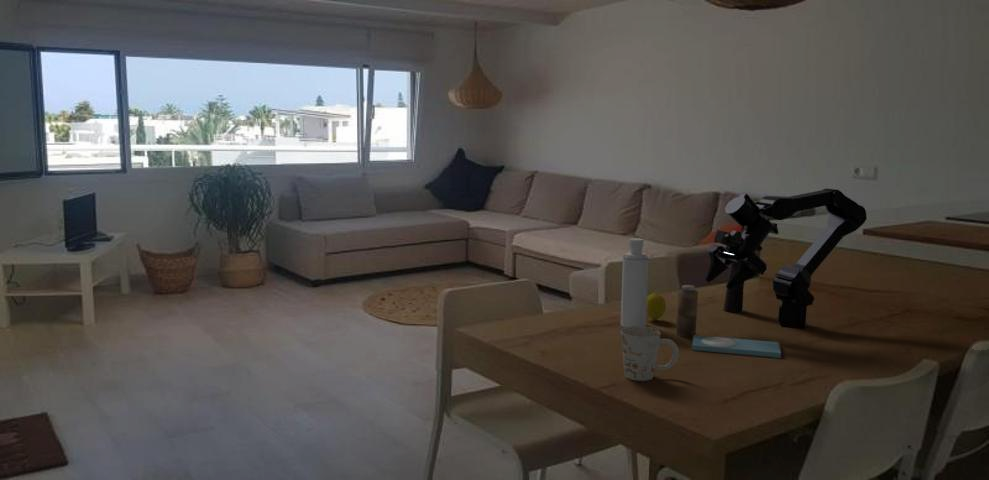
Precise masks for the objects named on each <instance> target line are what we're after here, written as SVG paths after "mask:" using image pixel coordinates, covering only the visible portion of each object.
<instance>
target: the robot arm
mask: <svg viewBox="0 0 989 480" xmlns="http://www.w3.org/2000/svg"><path fill="white" fill-rule="evenodd" d="M820 207H825V209H826V212H828V213H829V215H828V220H827V225H826V227H825V228H824V230H823V231H822V232H821V233H820V234H819V236H818V237H817V238H816V239H815V240H814V241H813V243H812V244H811V245H810V247H809V248H808V249H807V250H806V251H805V252H804V253H803V255H802V256H801V257H800V258H799V259H798V261H797V262H796V263H795V264H793V265H791V266H790V265H788V264H784V265H782V267H781V268H780V270H779V271H778V272H777V273H776V274H774V278H773V280H772V288H773V291H774V293H775V297H776V299H777V300H779V301H780V302H781V303H780V304H779V305H778V312H777V321H778V323H779V325H780V327H781V326H782V327H790V328H792V327H793V328H804V329H806V328H808V327H807V311H808V310H807V309H808V306H812V305H813V303H814V300H815V296H814V295H813V294H812V293H811V292H810V291H809V288H810V286H811V282H812V276H813V274H814V273H815V271H817V269H818V268H819V267H820V266H821V265H822V263H823V262H824V261H825V259H827V257H828V256H829V255H830V254H831V252H833V250H834V249H835V248H836V246H837V245H838V244H839V243H840V242H841V240H842V239H843V238H844V237H845V236H847V235H850V234H852V233H854V232H855V231H857V230H858V229H859V228H861V227H862V226H863V225H864V224H865V222H866V221H867V219H868V217H867V210H866V209H865V207H864V206H863V205H860V204H859V203H858V202H856V201H855V200H853V199H851V198H849V197H848V196H847V195H845V194H844V193H843V192H842V191H840V190H839V189H834V188H824V189H821V190H817V191H811V192H807V193H800V194H796V195H790V196H781V195H780V196H778V195H765V196H763V197H762V198H760V201H756V202H754V201H753V200H752V199H751V197H750V195H748V193H745V192H744V193H740V195H739V196H736V197H734V198H733V199H732V200H730V201H728V203H727V204H726V205H725V208H724V209H725V212H726V214H727V215H728V216H729V217H730V218H731V219H732V220H733V221H734V222H736V224H738V226H740V227H742V226H744V230H743V231H742V230H741V231H742V233H741V231H738V230H732V231H731V232H729V231H724V230H721V229H717V230H716V233H715V235H714V238H713V243H719V244H722V245H724V246H722V245H718V244H711V245H710V246H709V247H708V249H706V252H707V253H708V254H707V255H708V256H709V258H710V264H709V267H708V270H707V275H706V277H705V282H706V283H708V284H709V283H710V282H712V281H713V280H715V279H716V278H717V277H718V276H719V275H720V276H721V274H722V273H723V272H725V271H726V270H727V269H729V265H731V263H732V261H734V262H737V268H736V270H735V272H734V273H733V275H732V277H731V278H730V280H729V282H728V281H727V284H726V285H725V288H726V289H727V288H728V289H731V288H733V287H735V286H737V285H738V284H740V283H742V282H744V283H745V282H746V281H748V280H751V279H752V278H754V277H758V276H759V275H761V276H763V275H764V273H766V271H767V263H766V262H765V261H763V259H762V258H761V257H759V256H758V255H757V254H756V252H757V251H758V252H761V251H762V249H763V247H762V246H761V245H762V244H763V243H764V241H765V240H766V238H767V237H768V236H769V235H770V234H774V235H778V234H779V229H778V223H774V222H772V221H770V220H777V221H783V220H785V219H788V218H790V217H793V216H794V214H796V213H798V212H801V211H807V210H813V209H816V208H820ZM769 219H770V220H769Z"/></svg>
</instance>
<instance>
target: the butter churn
mask: <svg viewBox="0 0 989 480" xmlns="http://www.w3.org/2000/svg"><path fill="white" fill-rule="evenodd" d="M744 228H745V226H741V231H740V232H741V233H742V231H743V230H744ZM736 268H737V262H734V261H732V263H731V264H730V267H729V272H728V278H727V283H728V282H729V280H730V278H731V277H732V275H733V273H734V272H735V270H736ZM744 286H745V281H744V282H742V283H740V284H738V285H737V286H735V287H733V288H731V289H728V288H726V291H725V296H724V297H725V298H724V301H723V302H724V303H723V308H722V310H723V311H725V312H732V313H742V312H743V308H744V307H743V305H744V290H745V287H744Z"/></svg>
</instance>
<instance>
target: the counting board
mask: <svg viewBox="0 0 989 480" xmlns="http://www.w3.org/2000/svg"><path fill="white" fill-rule="evenodd" d="M691 351H699V352H701V351H702V352H713V353H723V354H732V355H734V354H735V355H741V356H742V355H743V356H745V355H746V356H753V357H754V356H755V357H764V358H765V357H766V358H777V359H781V358H782V352H781V347H780V342H778V341H765V340H758V339H757V340H756V339H755V340H753V339H743V338H731V337H722V336H710V335H709V336H708V335H697V334H696V335H694V336H693V337H692V343H691Z"/></svg>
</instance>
